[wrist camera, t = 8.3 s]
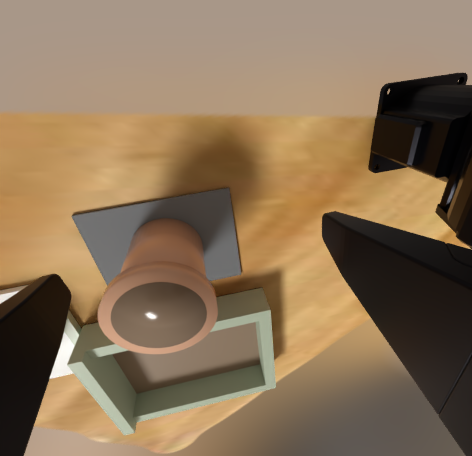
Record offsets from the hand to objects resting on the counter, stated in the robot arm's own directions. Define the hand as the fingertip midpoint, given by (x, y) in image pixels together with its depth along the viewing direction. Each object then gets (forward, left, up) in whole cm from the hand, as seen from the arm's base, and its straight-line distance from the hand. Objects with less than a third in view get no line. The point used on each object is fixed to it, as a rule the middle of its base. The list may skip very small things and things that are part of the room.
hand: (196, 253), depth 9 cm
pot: (+3, +7, -12) cm, 14 cm away
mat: (+4, +7, -12) cm, 14 cm away
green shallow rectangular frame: (+5, +21, -12) cm, 25 cm away
